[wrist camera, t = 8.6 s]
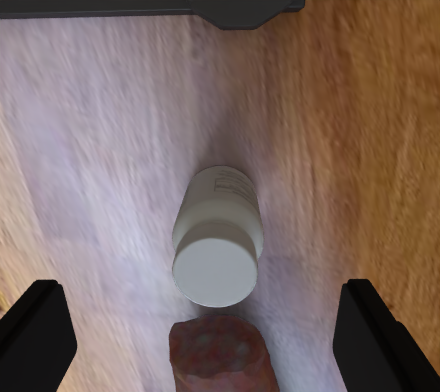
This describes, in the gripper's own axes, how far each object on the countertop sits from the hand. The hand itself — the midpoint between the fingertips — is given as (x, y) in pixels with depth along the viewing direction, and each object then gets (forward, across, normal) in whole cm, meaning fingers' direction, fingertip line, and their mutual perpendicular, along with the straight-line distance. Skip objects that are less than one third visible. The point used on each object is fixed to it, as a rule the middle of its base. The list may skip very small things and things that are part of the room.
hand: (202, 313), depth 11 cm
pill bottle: (+10, 0, 0) cm, 10 cm away
